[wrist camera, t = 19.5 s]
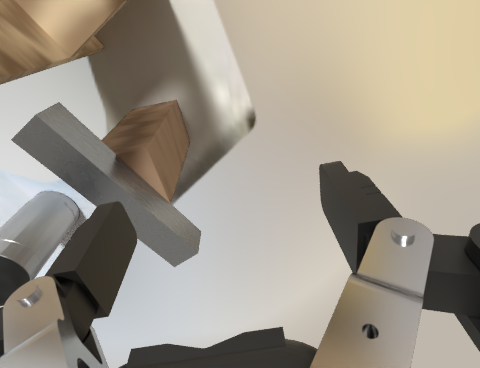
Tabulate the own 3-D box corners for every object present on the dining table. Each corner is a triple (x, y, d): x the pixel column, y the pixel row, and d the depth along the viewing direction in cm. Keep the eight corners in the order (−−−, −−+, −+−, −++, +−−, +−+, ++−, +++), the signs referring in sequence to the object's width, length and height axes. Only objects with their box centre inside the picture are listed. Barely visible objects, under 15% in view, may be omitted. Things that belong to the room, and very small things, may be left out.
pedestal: (149, 150, 53) (111, 215, 36) (132, 109, 49) (80, 161, 32) (190, 142, 52) (170, 204, 36) (176, 99, 48) (146, 147, 32)
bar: (201, 231, 38) (198, 253, 35) (179, 244, 40) (174, 266, 36) (58, 102, 29) (35, 114, 25) (36, 124, 30) (11, 139, 27)
